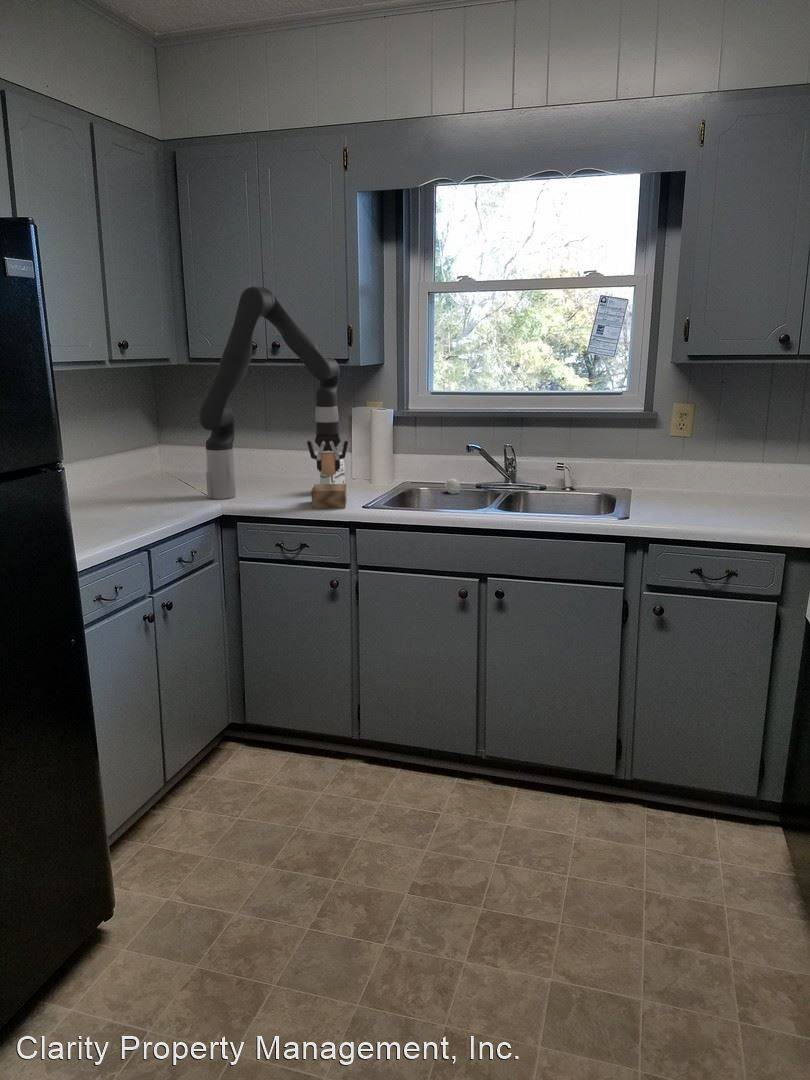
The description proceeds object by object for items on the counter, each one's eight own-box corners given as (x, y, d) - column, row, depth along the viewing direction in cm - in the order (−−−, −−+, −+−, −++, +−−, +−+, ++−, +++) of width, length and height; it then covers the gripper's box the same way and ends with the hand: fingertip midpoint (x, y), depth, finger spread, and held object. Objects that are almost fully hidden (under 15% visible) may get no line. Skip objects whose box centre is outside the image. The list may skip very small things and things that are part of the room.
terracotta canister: (320, 475, 265) (320, 454, 263) (321, 472, 269) (321, 451, 268) (335, 474, 265) (335, 453, 263) (336, 472, 270) (335, 451, 268)
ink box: (330, 495, 286) (329, 462, 283) (319, 493, 289) (318, 461, 286) (346, 491, 293) (345, 459, 290) (335, 490, 296) (334, 458, 293)
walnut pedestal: (312, 508, 264) (311, 491, 262) (314, 501, 276) (314, 484, 274) (345, 508, 264) (344, 490, 263) (346, 501, 276) (346, 483, 274)
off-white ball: (460, 493, 287) (459, 490, 292) (460, 479, 286) (458, 477, 291) (446, 494, 287) (445, 491, 292) (446, 481, 286) (444, 478, 291)
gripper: (304, 421, 259) (306, 473, 263) (348, 421, 259) (349, 472, 264) (306, 419, 266) (308, 469, 270) (349, 418, 267) (350, 469, 271)
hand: (328, 470), depth 267 cm, fingers closed on terracotta canister, 5 cm apart
